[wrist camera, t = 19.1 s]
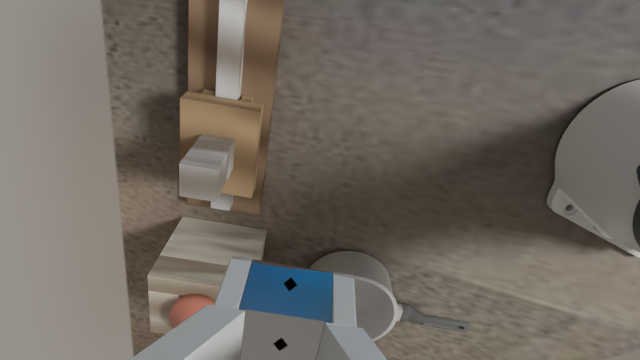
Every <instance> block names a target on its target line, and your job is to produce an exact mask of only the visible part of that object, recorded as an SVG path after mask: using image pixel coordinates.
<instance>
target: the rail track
mask: <svg viewBox="0 0 640 360" xmlns="http://www.w3.org/2000/svg"><path fill="white" fill-rule="evenodd" d="M284 5H285V0H189V16H188V91H189V92H195V93H202V92H203V91H204V90H205V89H208V90H213V91H216V94H215V96H218V97H223V98H229V99H235V100H241V98H242V97H243V96H248V97H253V98H254V99H253V103H258V104H263V105H264V108H263V117H262V127H261V136H260V146H259V156H258V165H257V175H256V185H255V190H254V192H253V195H252V198H248V197H242V196H235V195H229V194H223V193H220V195H219V197H218V199H217V201H216V202H212V201H206V200H200V199H194V198H188V197H187V204H193V205H199V206H205V207H211V208H215V209H221V210H227V211H236V212H242V213H249V214H255V215H259V213H260V210H261V204H262V195H263V187H264V178H265V169H266V161H267V152H268V144H269V135H270V126H271V118H272V109H273V100H274V92H275V83H276V74H277V66H278V57H279V48H280V40H281V31H282V22H283V14H284ZM266 234H267V230H264V229H258V228H251V227H245V226H239V225H233V224H227V223H220V222H214V221H208V220H202V219H196V218H189V217H182V218H181V220H180V222H179V223H178V225H177V227H176V228H175V230H174V232H173V233H172V235H171V237H170V239H169V240H168V242H167V244H166V245H165V247H164V249H163V250H162V252H161V254H160V255H159V257H158V259H157V260H156V262H155V264H154V265H153V267H152V269H151V270H150V272H149V274H148V275H147V277H148V295H149V312H150V330H151V332H156V333H163V334H166V333H168V332H169V331H171V330H172V329H173V328H172V326H171V325H170V322H169V313H170V311H171V309H172V307H173V305H174V302H175V301H176V300H177V299H178V298H179V297H181V296H183V295H186V294H192V293H193V294H202V295H206V296H208V297H210V298H212V299H214V300H216V297H217V294H218V292H219V289H220V286H221V283H222V280H223V278H224V275H225V272H226V269H227V266H228V264H229V261H230V259H231V258H232V256H237V257H243V258H248V259H256V260H262V261H263V257H264V250H265V242H266Z"/></svg>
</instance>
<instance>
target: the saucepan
mask: <svg viewBox="0 0 640 360" xmlns="http://www.w3.org/2000/svg"><path fill="white" fill-rule="evenodd" d="M309 269H316V270H322V271H329V272H338V273H346V274H352V275H353V277H354V288H355V306H356V325H357V327H359V328H363V329H364V330H365V332H366V333H367V334H368V336H369V337H370V338H371V340H372V341H373V342H374V341H376V340H378V339H380V338H382V337H383V336H385V335H386V334H387V333H388V332H389V331H390V330H391V329H392V328H393V326H394V325H395V323H396V321H401V322H405V321H409V322H412V323H415V324H420V325H425V326H432V327H438V328H444V329H451V330H457V331H463V332H468V330H469V327H470V323H469V322H465V321H459V320H454V319H448V318H442V317H437V316H431V315H426V314H423V313H422V312H420V311H418V310H416V309H415V308H413V307H411V306H410V305H409V304H404V303H401V304H398V303H397V302H396V299H395V298H394V296H393V295H392V289H391V282H390V277H389V274H388V271H387V270H386V269H385V267H384V266H383V265H382V264H381V263H380V262H379V261H378V260H376V259H375V258H373V257H372V256H369V255H367V254H364V253H360V252H356V251H340V252H334V253H331V254H328V255H326V256H323V257H321V258H320V259H318V260H317V261H316V262H315V263H314V264H313V265H312V266H311V267H310V268H309Z"/></svg>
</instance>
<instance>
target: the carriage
mask: <svg viewBox="0 0 640 360" xmlns="http://www.w3.org/2000/svg"><path fill="white" fill-rule="evenodd" d="M215 94H216V91H213V90H208V89H205V90H204V91H203V92H202V93H195V92H189V91H187V92H186V93H185V94H184V95H183V96H181V97H180V163H179V196H182V197H188V198H194V199H200V200H206V201H212V202H216V201H217V199H218V197H219V195H220V193H223V194H229V195H235V196H242V197H248V198H252V195H253V192H254V190H255V185H256V175H257V165H258V156H259V146H260V136H261V127H262V117H263V108H264V105H263V104H258V103H253V99H254V98H253V97H248V96H243V97H242V98H241V100H235V99H229V98H223V97H218V96H215Z"/></svg>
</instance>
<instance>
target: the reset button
mask: <svg viewBox="0 0 640 360" xmlns="http://www.w3.org/2000/svg"><path fill="white" fill-rule="evenodd" d="M214 303H215V300H214V299H212V298H210V297H208V296H206V295H202V294H193V293H192V294H186V295H183V296H181V297H179V298H178V299H177V300H176V301H175V302H174V305H173V307H172V309H171V311H170V313H169V322H170V325H171V326H172V328H173V329H174V328H175V327H176V326H178V325H179V324H181V323H182V322H183V321H185V320H186V319H188V318H189V317H190V316H192V315H193V314H195V313H196V312H198V311H199V310H200V309H202V308H203V307H205V306H206V305H214Z"/></svg>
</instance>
